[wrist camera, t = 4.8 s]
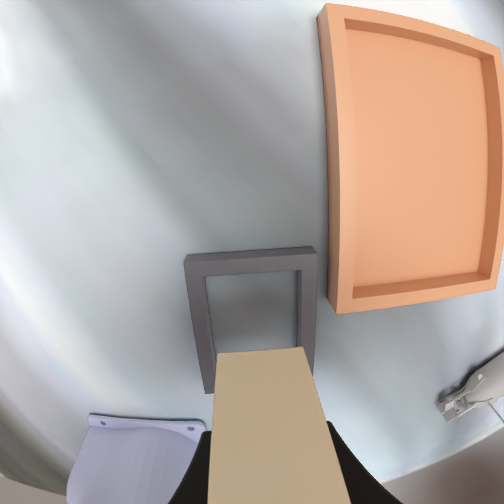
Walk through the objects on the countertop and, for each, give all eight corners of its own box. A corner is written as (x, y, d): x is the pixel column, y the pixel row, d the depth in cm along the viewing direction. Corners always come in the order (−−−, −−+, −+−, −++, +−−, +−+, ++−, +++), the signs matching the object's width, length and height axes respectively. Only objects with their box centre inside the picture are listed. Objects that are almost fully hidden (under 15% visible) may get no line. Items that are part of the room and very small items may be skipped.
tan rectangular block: (231, 439, 12) (232, 570, 6) (217, 352, 11) (206, 523, 5) (298, 434, 12) (324, 561, 6) (302, 346, 11) (352, 508, 5)
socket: (206, 381, 19) (205, 393, 18) (187, 254, 17) (183, 262, 16) (308, 373, 20) (312, 385, 18) (312, 246, 17) (317, 253, 16)
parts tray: (326, 297, 18) (336, 314, 16) (316, 17, 13) (326, 3, 11) (478, 278, 18) (495, 289, 16) (480, 52, 13) (499, 47, 11)
